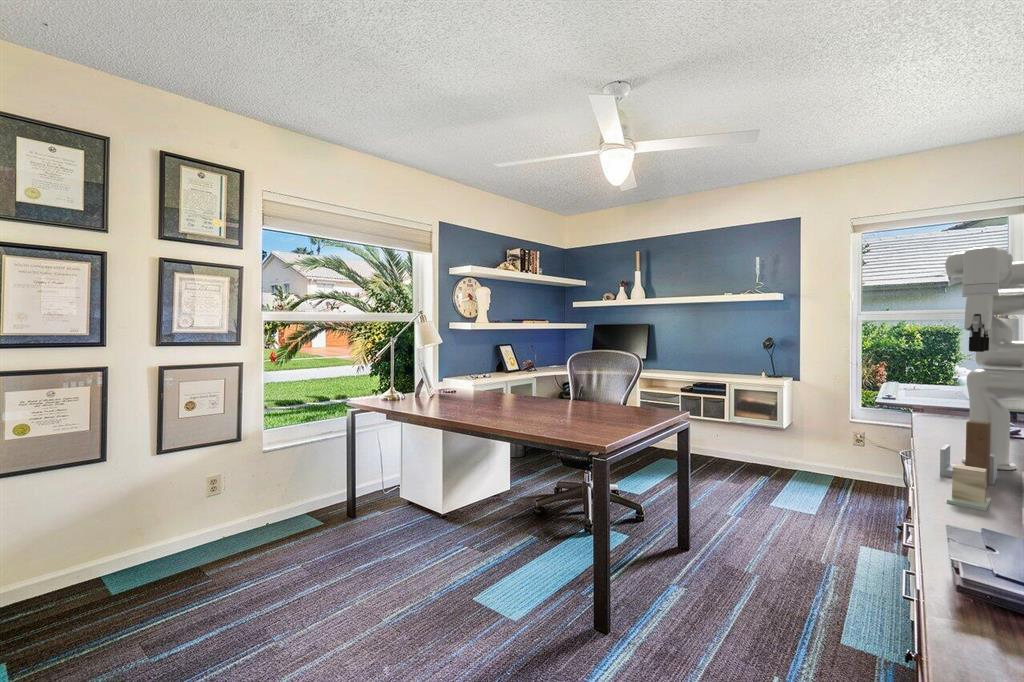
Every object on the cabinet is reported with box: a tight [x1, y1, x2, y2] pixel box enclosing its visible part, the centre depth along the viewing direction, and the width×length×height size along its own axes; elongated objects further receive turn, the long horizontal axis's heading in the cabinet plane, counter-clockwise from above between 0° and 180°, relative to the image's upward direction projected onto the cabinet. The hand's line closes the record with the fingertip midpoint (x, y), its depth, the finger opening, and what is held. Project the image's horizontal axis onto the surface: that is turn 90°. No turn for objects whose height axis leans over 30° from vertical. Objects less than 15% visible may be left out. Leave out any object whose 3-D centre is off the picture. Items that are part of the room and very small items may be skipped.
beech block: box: [951, 464, 987, 504], centre depth 125 cm, size 4×6×8 cm, turn 41°
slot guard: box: [939, 443, 998, 485], centre depth 146 cm, size 10×12×8 cm
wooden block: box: [963, 419, 991, 488], centre depth 137 cm, size 9×4×18 cm, turn 127°
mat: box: [946, 493, 992, 512], centre depth 124 cm, size 10×7×1 cm
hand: (978, 351), depth 139 cm, fingers open, 9 cm apart
